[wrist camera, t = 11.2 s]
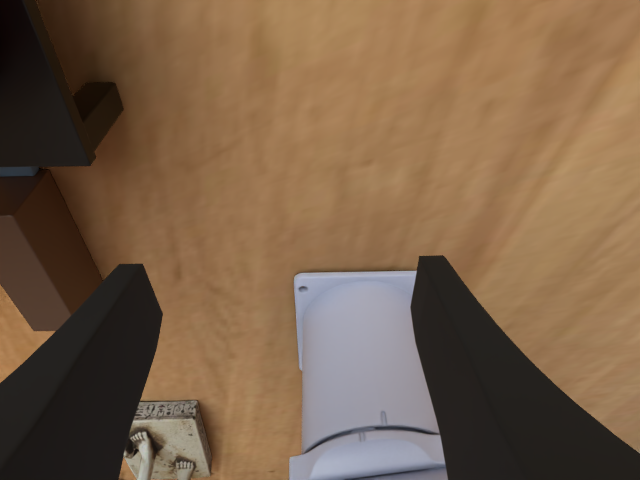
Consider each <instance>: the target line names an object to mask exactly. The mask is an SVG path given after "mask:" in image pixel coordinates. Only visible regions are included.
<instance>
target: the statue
mask: <svg viewBox="0 0 640 480" xmlns="http://www.w3.org/2000/svg"><path fill="white" fill-rule="evenodd" d="M124 458H125V459H126V462H127V464H128V465H129V467H130V469H131V471H132V472H133V474H134V476H135V477H136V478H137V479H136V480H151V479H177V480H190V479H191V478H201V477H209V476H211V461H212V455H211V452H210V448H209V445H208V441H207V438H206V433H205V429H204V426H203V422H202V418H201V415H200V410H199V405H198V402H197V401H194V400H192V401H173V402H139V405H138V408H137V411H136V414H135V417H134V420H133V423H132V426H131V429H130V433H129V436H128V440H127V444H126V447H125V452H124Z"/></svg>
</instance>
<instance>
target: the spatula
mask: <svg viewBox="0 0 640 480" xmlns="http://www.w3.org/2000/svg"><path fill="white" fill-rule="evenodd" d="M102 282H103V281H102V279H101V276H100V274H99V272H98V270H97V268H96V266H95V264H94V262H93V260H92V258H91V256H90V254H89V252H88V250H87V248H86V245H85V243H84V241H83V239H82V237H81V235H80V233H79V231H78V229H77V227H76V225H75V223H74V221H73V219H72V217H71V214H70V212H69V210H68V208H67V206H66V204H65V202H64V200H63V198H62V196H61V194H60V192H59V190H58V188H57V185H56V183H55V181H54V179H53V177H52V175H51V173H50V171H49V170H39V167H0V284H1V286H2V287H3V289H4V290H5V291H6V293H7V294H8V296H9V297H10V298H11V300H12V301H13V303H14V304H15V305H16V307H17V308H18V310H19V311H20V312H21V314H22V315H23V317H24V318H25V319H26V321H27V322H28V324H29V325H30V326H31V328H32V329H33V331H57V330H58V329H59V328H60V327H61V326H62V325H63V324H64V323H65V322H66V320H67V319H68V318H69V317H70V316H71V315H72V314H73V313H74V312H75V311H76V310H77V309H78V308H79V307H80V306H81V305H82V304H83V303H84V302H85V300H86V299H87V298H88V297H89V296H90V295H91V294H92V293H93V292H94V291H95V290H96V289H97V288H98V286H99V285H100V284H101V283H102Z"/></svg>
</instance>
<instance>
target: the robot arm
mask: <svg viewBox="0 0 640 480" xmlns="http://www.w3.org/2000/svg"><path fill="white" fill-rule="evenodd" d="M302 286H304V287H302ZM294 292H295V308H296V324H297V340H298V356H299V368H300V370H302V454H301V455H297V456H292V457H290V461H289V480H640V453H638V452H637V451H636V450H634V449H633V448H632V447H630V446H629V445H628V444H626V443H625V442H623V441H622V440H621V439H619V438H618V437H617V436H616V435H614V434H613V433H612V432H611V431H609V430H608V429H607V428H606V427H605V426H603V425H602V424H601V423H600V422H598V421H597V420H596V419H595V418H593V417H592V416H591V415H590V414H589V413H587V412H586V411H585V410H584V409H582V408H581V407H580V406H579V405H578V404H576V403H575V402H574V401H573V400H572V399H571V398H570V397H568V396H567V395H566V394H565V393H564V392H563V391H562V390H561V389H560V388H558V387H557V386H556V385H555V384H554V383H553V382H552V381H551V380H550V379H549V378H548V377H547V376H546V375H545V374H544V373H542V372H541V371H540V370H539V369H538V368H537V367H536V366H535V365H534V364H533V363H532V362H531V361H530V360H529V359H528V358H527V357H526V356H525V355H524V353H523V352H522V351H521V350H520V349H519V348H518V347H517V346H516V345H515V344H514V343H513V342H512V341H511V340H510V338H509V337H508V336H507V335H506V334H505V333H504V332H503V331H502V329H501V328H500V327H499V326H498V325H497V324H496V322H495V321H494V320H493V319H492V318H491V316H490V315H489V314H488V313H487V312H486V310H485V309H484V308H483V307H482V306H481V304H480V303H479V302H478V301H477V299H476V298H475V297H474V296H473V294H472V293H471V292H470V290H469V289H468V288H467V286H466V285H465V284H464V282H463V281H462V280H461V278H460V277H459V276H458V274H457V273H456V272H455V270H454V269H453V267H452V266H451V265H450V263H449V262H448V260H447V259H446V258H445V257H444V256H443V255H442V256H419V262H418V267H417V271H375V272H317V273H299V274H297V275H296V276H295V277H294ZM162 316H163V313H162V311H161V308H160V306H159V303H158V301H157V298H156V296H155V293H154V291H153V288H152V286H151V283H150V281H149V278H148V276H147V273H146V271H145V268H144V266H143V264H119V265H118V266H117V267H116V268H115V269H114V270H113V271H112V272H111V274H110V275H109V276H108V277H107V278H106V279H105V280H104V281H103V282H102V283H101V284H100V285H99V286H98V288H97V289H96V290H95V291H94V292H93V293H92V294H91V295H90V296H89V297H88V298H87V299H86V300H85V302H84V303H83V304H82V305H81V306H80V307H79V308H78V309H77V310H76V311H75V312H74V313H73V314H72V315H71V316H70V317H69V318H68V319H67V320H66V322H65V323H64V324H63V325H62V326H61V327H60V328H59V329H58V330H57V331H56V332H55V333H54V334H53V335H52V336H51V337H50V338H49V339H48V340H47V341H46V342H45V343H44V344H42V345H41V346H40V347H39V348H38V349H37V350H36V351H35V352H34V353H33V354H32V355H31V356H30V357H29V358H28V359H27V360H26V361H25V362H24V363H23V364H22V365H20V366H19V367H18V368H17V369H16V370H15V371H14V372H13V373H11V374H10V375H9V376H8V377H7V378H6V379H5V380H3V381H2V382H1V383H0V480H118V479H119V474H120V470H121V465H122V461H123V456H124V452H125V447H126V444H127V440H128V436H129V433H130V429H131V426H132V423H133V420H134V417H135V414H136V411H137V408H138V405H139V402H140V399H141V396H142V393H143V390H144V387H145V384H146V381H147V377H148V374H149V371H150V368H151V365H152V362H153V359H154V355H155V352H156V348H157V343H158V338H159V333H160V327H161V322H162Z"/></svg>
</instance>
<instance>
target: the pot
mask: <svg viewBox="0 0 640 480" xmlns="http://www.w3.org/2000/svg"><path fill="white" fill-rule="evenodd" d="M122 111H123V106H122V103H121V100H120V96H119V93H118V90H117V87H116V84H115V83H114V82H95V83H85V84H84V85H83V86H82V87H81V88H80V89H79V90H78V92H77V93H76V94H75V95H74V96H72V94H71V91H70V89H69V86H68V83H67V81H66V78H65V76H64V73H63V71H62V68H61V65H60V63H59V60H58V58H57V55H56V53H55V50H54V47H53V45H52V42H51V40H50V37H49V35H48V32H47V30H46V27H45V24H44V22H43V19H42V17H41V14H40V12H39V9H38V6H37V4H36V1H35V0H0V167H54V166H91V164H92V163H93V161H94V160H95V159H96V155H95V153H94V151H95V150H96V148H97V147H98V145H99V144H100V143H101V141H102V140H103V138H104V137H105V136H106V134H107V133H108V131H109V130H110V128H111V127H112V126H113V124H114V123H115V121H116V120H117V118H118V117H119V116H120V114H121V113H122Z"/></svg>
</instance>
